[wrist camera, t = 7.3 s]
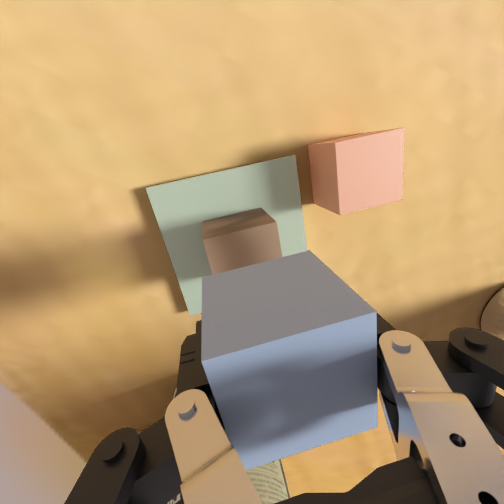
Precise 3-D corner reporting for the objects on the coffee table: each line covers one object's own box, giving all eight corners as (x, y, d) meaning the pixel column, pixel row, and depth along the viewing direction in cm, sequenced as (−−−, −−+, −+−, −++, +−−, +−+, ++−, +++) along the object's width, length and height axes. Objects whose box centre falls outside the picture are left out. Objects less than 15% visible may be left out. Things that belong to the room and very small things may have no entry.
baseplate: (291, 155, 22) (295, 155, 21) (307, 279, 26) (311, 283, 25) (148, 186, 21) (145, 188, 20) (190, 310, 25) (190, 316, 24)
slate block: (309, 250, 12) (376, 311, 7) (319, 335, 14) (377, 427, 9) (202, 277, 11) (201, 361, 7) (227, 361, 13) (240, 472, 9)
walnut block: (261, 207, 22) (276, 221, 17) (271, 260, 24) (287, 286, 19) (202, 221, 21) (202, 239, 17) (217, 274, 23) (220, 303, 19)
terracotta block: (362, 133, 22) (404, 127, 18) (364, 191, 24) (402, 200, 20) (307, 145, 22) (335, 142, 17) (313, 203, 24) (340, 215, 19)
